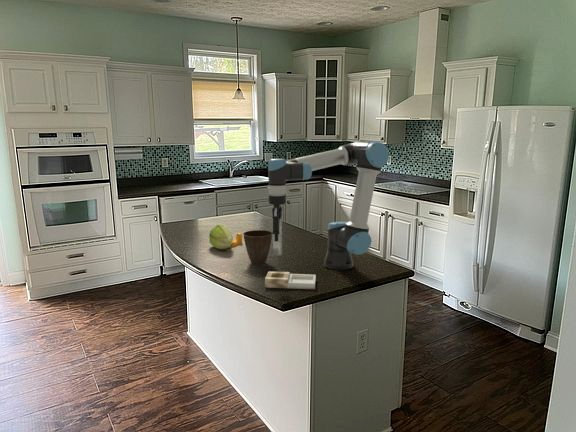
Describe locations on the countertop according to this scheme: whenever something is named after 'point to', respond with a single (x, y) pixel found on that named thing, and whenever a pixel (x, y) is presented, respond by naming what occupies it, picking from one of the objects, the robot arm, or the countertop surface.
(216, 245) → the lettuce
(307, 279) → the tray
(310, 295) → the countertop surface
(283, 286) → the beige square frame
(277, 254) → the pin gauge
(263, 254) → the plant pot
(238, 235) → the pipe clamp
